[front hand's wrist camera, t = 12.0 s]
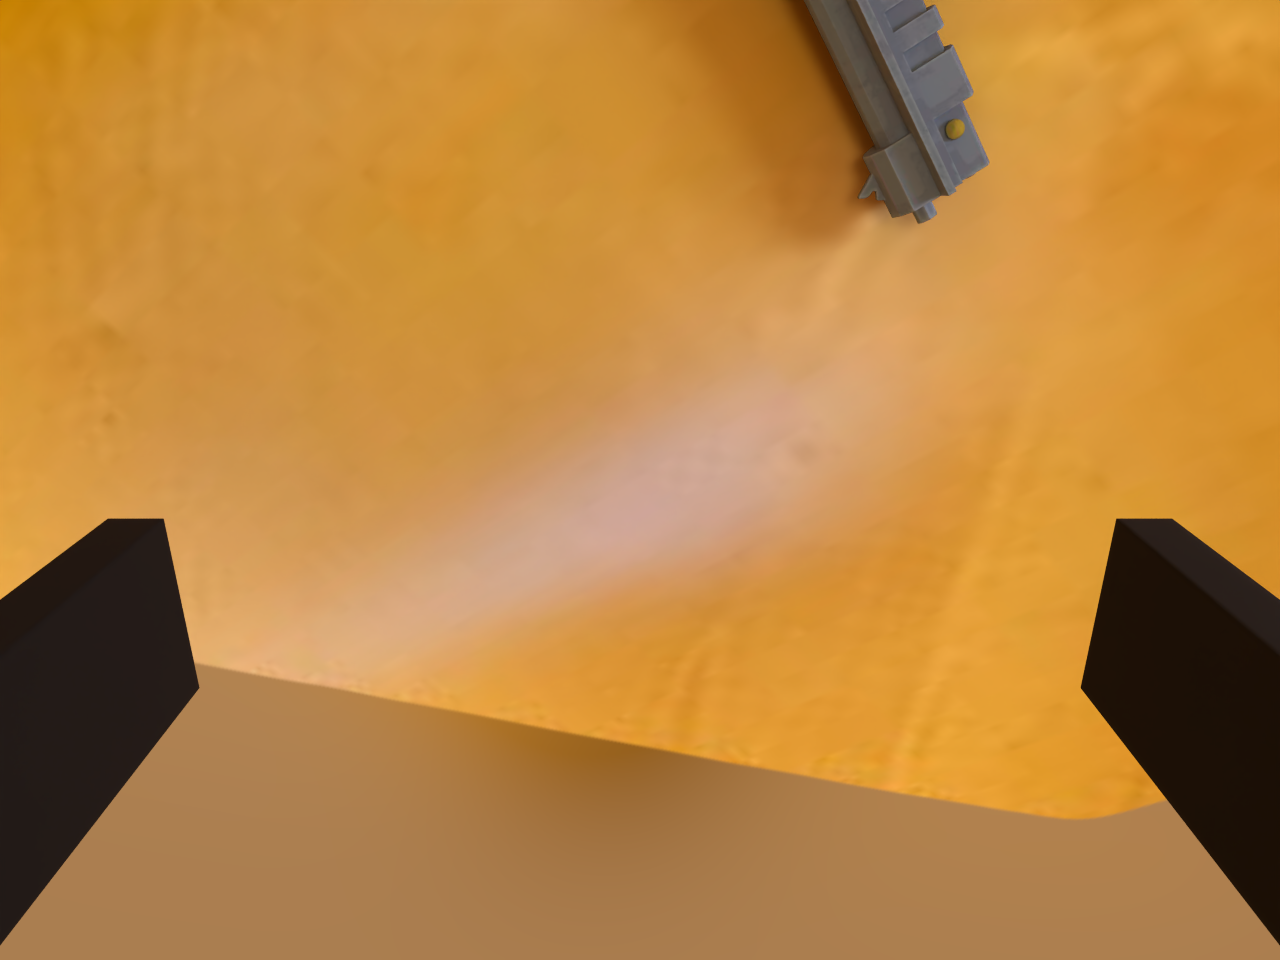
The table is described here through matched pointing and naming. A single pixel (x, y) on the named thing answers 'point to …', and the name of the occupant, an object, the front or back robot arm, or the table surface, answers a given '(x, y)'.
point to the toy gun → (903, 99)
